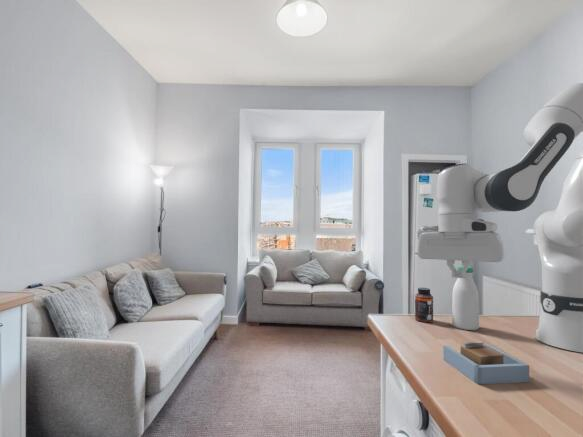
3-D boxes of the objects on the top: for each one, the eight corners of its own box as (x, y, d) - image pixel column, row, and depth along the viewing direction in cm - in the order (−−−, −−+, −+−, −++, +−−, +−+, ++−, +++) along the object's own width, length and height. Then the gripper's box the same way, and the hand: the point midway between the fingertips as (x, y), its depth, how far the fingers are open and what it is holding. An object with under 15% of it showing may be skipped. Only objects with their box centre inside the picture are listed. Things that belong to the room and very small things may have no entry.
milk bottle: (483, 331, 97) (482, 268, 98) (457, 330, 98) (456, 268, 99) (473, 324, 105) (472, 265, 105) (449, 322, 106) (448, 265, 107)
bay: (487, 357, 78) (487, 343, 78) (529, 381, 66) (529, 365, 66) (443, 359, 76) (443, 345, 76) (477, 384, 64) (477, 367, 65)
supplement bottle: (435, 323, 105) (435, 290, 105) (416, 322, 106) (416, 289, 106) (430, 318, 111) (430, 287, 111) (413, 317, 112) (413, 286, 112)
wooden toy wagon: (483, 363, 74) (483, 340, 75) (505, 375, 69) (505, 350, 69) (458, 365, 73) (458, 342, 73) (478, 377, 67) (478, 352, 67)
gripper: (412, 226, 86) (414, 275, 86) (499, 224, 72) (502, 283, 71) (421, 226, 91) (423, 273, 90) (504, 224, 76) (507, 279, 76)
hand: (458, 277), depth 81 cm, fingers closed
